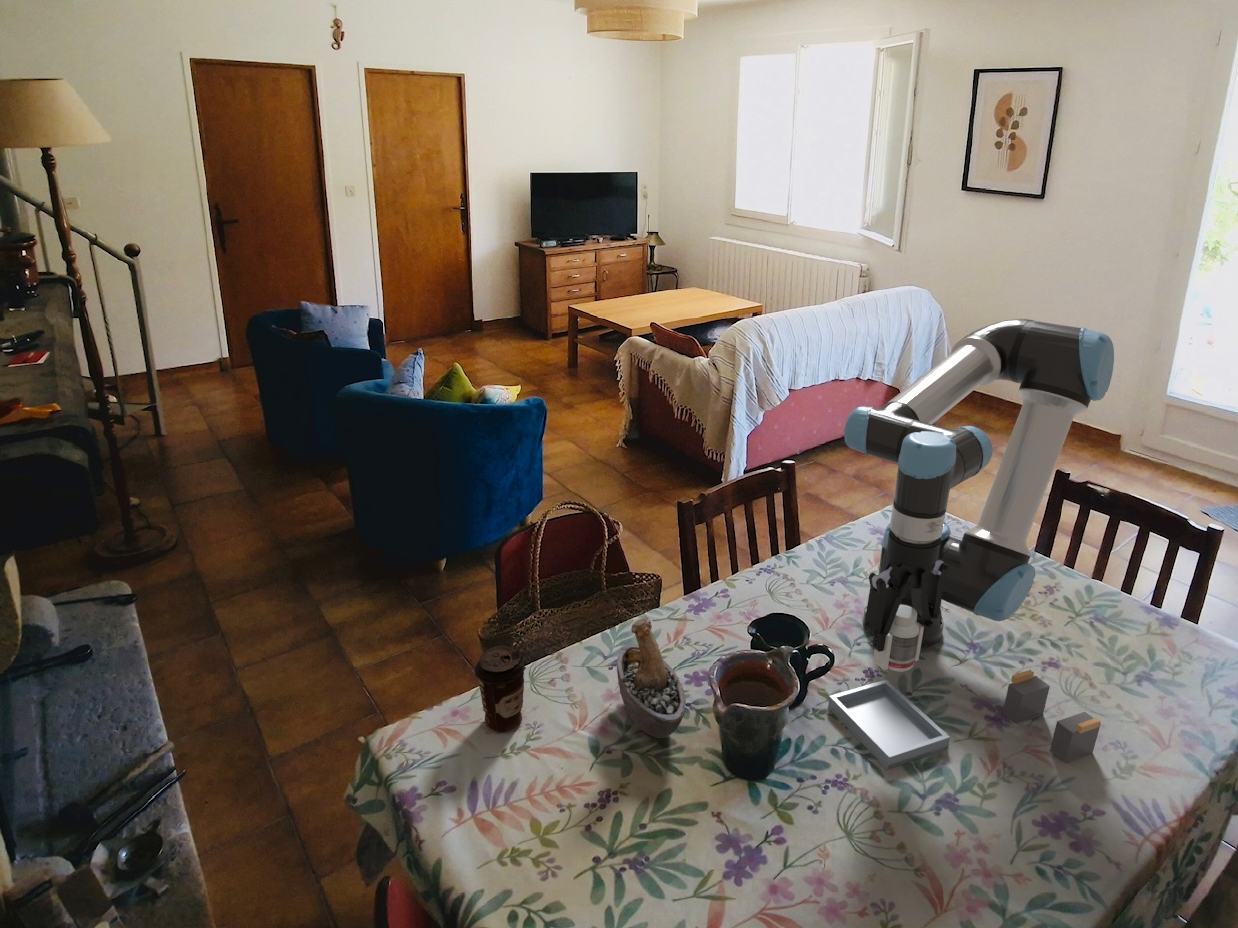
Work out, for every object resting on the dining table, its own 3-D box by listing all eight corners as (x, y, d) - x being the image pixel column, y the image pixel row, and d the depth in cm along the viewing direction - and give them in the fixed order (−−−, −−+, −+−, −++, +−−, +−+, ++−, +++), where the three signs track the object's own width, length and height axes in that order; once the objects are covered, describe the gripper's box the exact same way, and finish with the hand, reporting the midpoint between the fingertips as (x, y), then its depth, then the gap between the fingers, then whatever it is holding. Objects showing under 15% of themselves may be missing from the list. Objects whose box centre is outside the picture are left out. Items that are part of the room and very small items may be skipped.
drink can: (539, 713, 146) (535, 651, 140) (513, 744, 139) (509, 679, 134) (496, 699, 149) (491, 638, 144) (469, 728, 142) (463, 665, 137)
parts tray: (828, 707, 147) (829, 695, 146) (884, 690, 151) (886, 679, 150) (887, 769, 133) (889, 757, 132) (947, 749, 137) (950, 736, 136)
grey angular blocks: (1000, 710, 146) (1007, 676, 143) (1026, 702, 148) (1034, 668, 145) (1067, 764, 134) (1077, 728, 131) (1095, 754, 136) (1105, 719, 133)
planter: (628, 680, 154) (627, 586, 146) (712, 710, 146) (716, 612, 138) (584, 728, 142) (582, 629, 134) (673, 764, 134) (676, 660, 126)
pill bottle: (920, 665, 136) (929, 613, 132) (898, 676, 133) (906, 624, 129) (893, 648, 140) (901, 598, 136) (871, 659, 137) (878, 608, 133)
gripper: (881, 556, 121) (863, 687, 130) (981, 533, 127) (957, 660, 136) (849, 533, 127) (834, 660, 136) (946, 512, 133) (925, 635, 143)
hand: (895, 660), depth 136 cm, fingers closed on pill bottle, 5 cm apart
